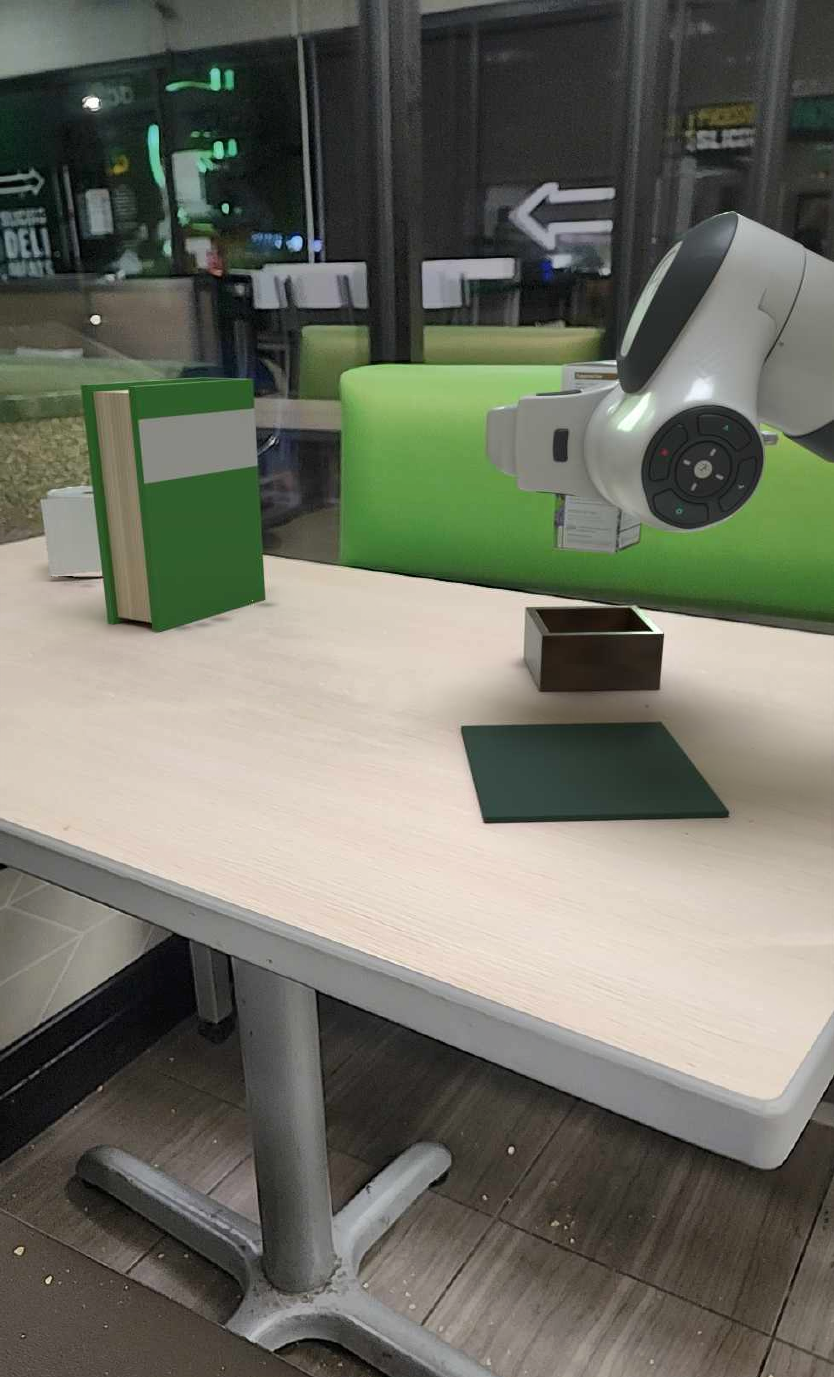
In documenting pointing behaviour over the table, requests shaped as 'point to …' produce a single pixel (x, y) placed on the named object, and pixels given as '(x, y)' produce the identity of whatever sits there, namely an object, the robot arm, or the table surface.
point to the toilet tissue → (71, 531)
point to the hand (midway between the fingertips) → (602, 426)
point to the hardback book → (175, 497)
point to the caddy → (592, 648)
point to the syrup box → (581, 517)
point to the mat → (585, 773)
